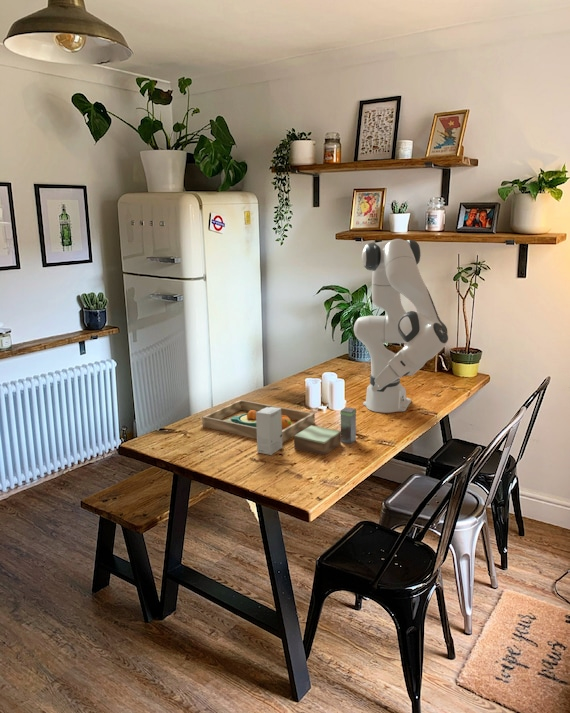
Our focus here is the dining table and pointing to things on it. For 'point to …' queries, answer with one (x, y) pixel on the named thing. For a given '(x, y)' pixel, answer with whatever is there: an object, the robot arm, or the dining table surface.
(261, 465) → the dining table surface
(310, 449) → the block
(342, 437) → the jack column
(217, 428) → the shallow serving tray
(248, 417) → the toy juicer set
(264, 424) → the skincare box
